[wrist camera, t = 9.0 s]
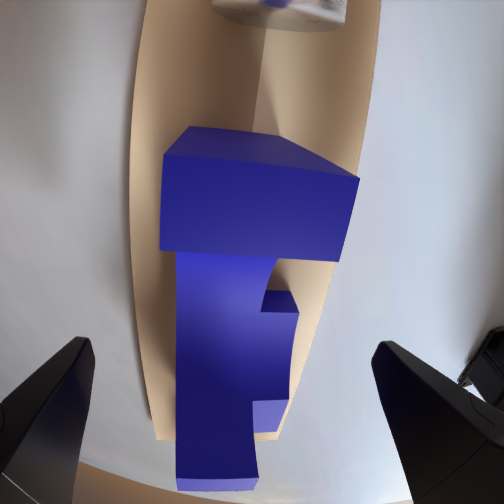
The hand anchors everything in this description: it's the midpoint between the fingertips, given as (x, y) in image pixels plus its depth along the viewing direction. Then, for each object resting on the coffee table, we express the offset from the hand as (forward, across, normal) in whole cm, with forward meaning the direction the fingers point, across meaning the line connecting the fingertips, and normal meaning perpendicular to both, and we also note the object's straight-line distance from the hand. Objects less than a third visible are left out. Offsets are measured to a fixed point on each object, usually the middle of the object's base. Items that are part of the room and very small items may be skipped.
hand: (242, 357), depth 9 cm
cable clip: (+4, 0, 0) cm, 4 cm away
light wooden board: (+5, 0, 0) cm, 5 cm away
